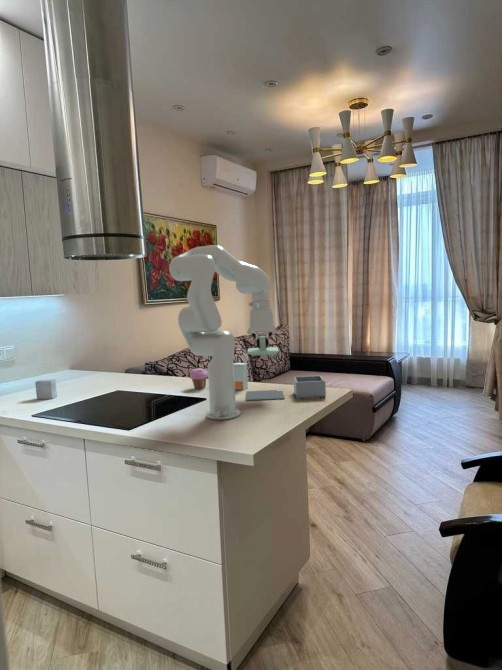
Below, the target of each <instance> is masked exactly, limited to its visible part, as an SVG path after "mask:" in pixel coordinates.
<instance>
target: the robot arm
mask: <svg viewBox="0 0 502 670" xmlns="http://www.w3.org/2000/svg"><path fill="white" fill-rule="evenodd" d="M168 270H169V274H170V276H171V277H172V278H173V280H175V281H179V282H189V281H191V282H190V285H189V288H188V290H187V294H186V299H187V302H188V306H185V307H183V308H182V309H181V310H180V311H179V313H178V317H177V323H178V327H179V330H180V332H181V334H182V336H183V338H184V341H185V342H186V344H187V346H188V349H189V350H190V352H191V353H193V354H194V355H195V356H200V357H201V356H202V357H211V360H210V361H209V364H208V366H207V373H208V377H207V380H208V392H209V395H208V396H209V397H208V398H209V410H208V411H207V412H206V413H205V414H206V418H207V419H211V420H217V421H218V420H223V421H224V420H230V419H235V418H237V417H239V416H240V415H241V410H240V409H238V408H237V406H236V389H235V384H234V367H233V364H234V354H235V348H236V340H235V338H234V335H233V334H232V333H231V331H227V330H223V329H220V328H221V327H222V323H223V321H222V317H221V314H220V312H219V309H218V307H217V304H216V302H215V299H214V296H213V294H212V285H213V279H214V275H215V273H217V274H218V275H219V276H221V277H222V278H224V279H225V280H226V281H230V282H235V288H236V290H237V292H239V293H241V294H242V295H243V294H244V295H248V294H249V295H250V297H251V302H248V307H251V308H250V310H249V327H248V330H247V332H246V333H247V335H250V336H252V337H254V339H256V340H255V341H256V348H259V349H260V338H259V333H265V344H266V348H268V347H269V345H270V344H269V339H270V337H271V336H272V335H274V334H276V333H277V329H276V327H275V322H274V314H273V313H274V312H273V309H272V307H270V306H271V305H270V289H271V287H272V280H271V278H270V276H269V275H268V274H267V273H266V272H265V271H264V270H263V269H262V268H260V267H258V266H256V265H254V264H253V265H252V264H250V263H247V262H244V261H241V260H238V259H237V258H236V257H235V256H233V254H231V253H230V252H228V251H227V250H226V249H225V248H224V247H222V246H221V245H219V244H217V245H216V244H212V245H211V244H210V245H204V246H197V247H193V248H191V249H189V250H186V251H184V252H183V253H181V254H179V255H176V256H174V258H172V260H171V261H170V263H169V267H168Z"/></svg>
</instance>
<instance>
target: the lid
mask: <svg viewBox="0 0 502 670" xmlns="http://www.w3.org/2000/svg"><path fill="white" fill-rule="evenodd" d="M258 337H259V339H260V349H259V348H258V347H251V348H247V351H246V352H247V354H246V355H251V356H252V357H253V356H272V355H274V356H275V354H276V353H277V354H278V353H280V351H279V347H278V346H272V347H269V346H267V348H266V344H265V337H266V335H262V336H260V335H258Z"/></svg>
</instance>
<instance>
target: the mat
mask: <svg viewBox="0 0 502 670" xmlns="http://www.w3.org/2000/svg"><path fill="white" fill-rule="evenodd" d="M277 390H278V389H267V390H247V391H246V393H245V394H246V395H245V402H254V401H255V402H256V401H274V400H275V401H276V399H279V400H285V395H284V392H283V390H282V391H277Z"/></svg>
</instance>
